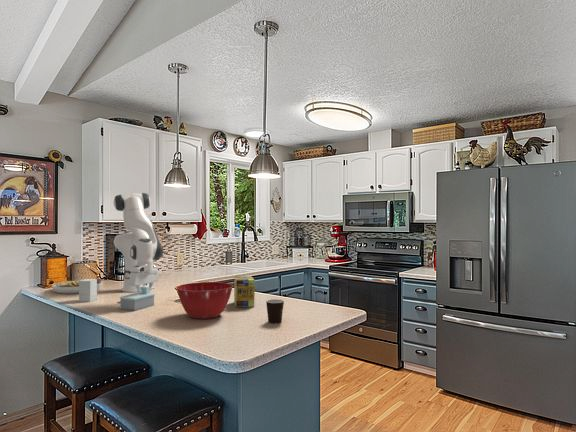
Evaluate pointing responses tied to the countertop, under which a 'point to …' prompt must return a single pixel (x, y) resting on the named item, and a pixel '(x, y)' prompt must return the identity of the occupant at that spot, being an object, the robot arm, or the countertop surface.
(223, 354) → the countertop surface
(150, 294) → the lid
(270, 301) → the coffee mug
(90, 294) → the supplement box
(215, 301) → the mixing bowl
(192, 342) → the countertop surface
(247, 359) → the countertop surface
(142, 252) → the robot arm
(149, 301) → the tub
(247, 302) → the protein box
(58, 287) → the bowl
